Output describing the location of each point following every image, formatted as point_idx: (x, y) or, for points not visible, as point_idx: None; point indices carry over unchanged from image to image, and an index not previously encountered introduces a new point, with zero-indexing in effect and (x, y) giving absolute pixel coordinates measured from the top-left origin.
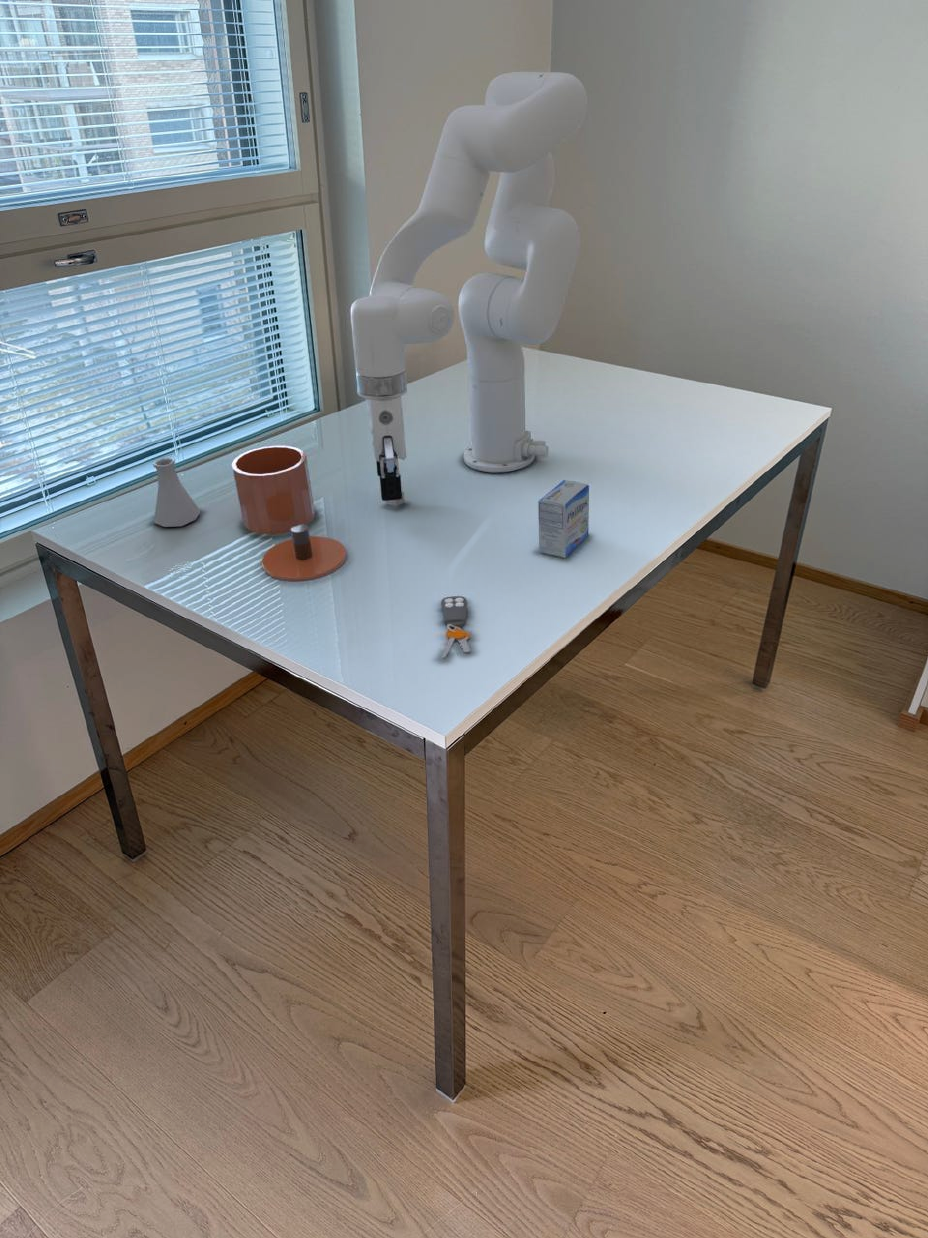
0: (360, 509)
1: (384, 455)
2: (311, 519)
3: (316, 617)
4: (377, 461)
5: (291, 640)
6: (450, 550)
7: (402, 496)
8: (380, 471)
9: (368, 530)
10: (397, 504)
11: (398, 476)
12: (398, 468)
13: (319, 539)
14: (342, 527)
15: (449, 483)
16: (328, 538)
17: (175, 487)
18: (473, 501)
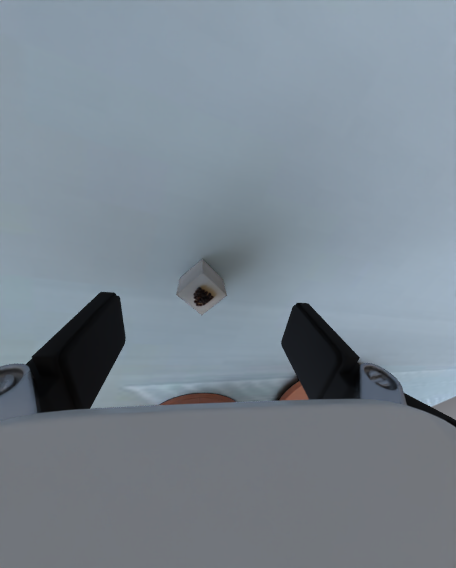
0: (195, 339)
1: (83, 388)
2: (222, 402)
3: (428, 382)
4: (101, 385)
5: (439, 395)
6: (450, 208)
7: (206, 272)
8: (118, 346)
9: (282, 332)
10: (222, 282)
11: (382, 371)
12: (403, 400)
13: (298, 395)
14: (252, 363)
15: (62, 54)
16: (302, 387)
17: None
18: (261, 5)
